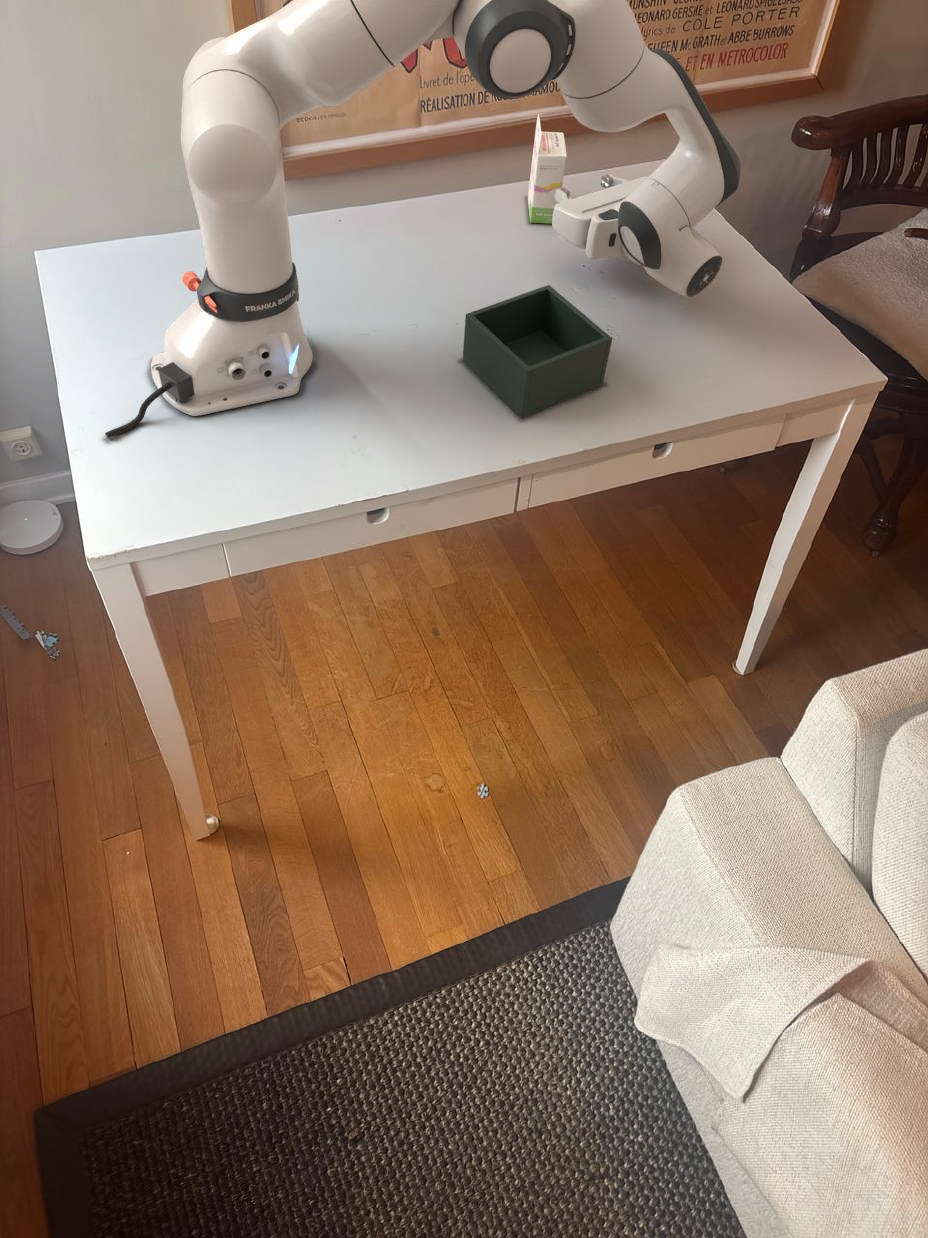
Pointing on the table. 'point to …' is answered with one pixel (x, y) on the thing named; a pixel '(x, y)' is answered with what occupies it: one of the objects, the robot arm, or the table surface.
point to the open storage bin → (535, 350)
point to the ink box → (546, 174)
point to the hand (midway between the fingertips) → (581, 185)
